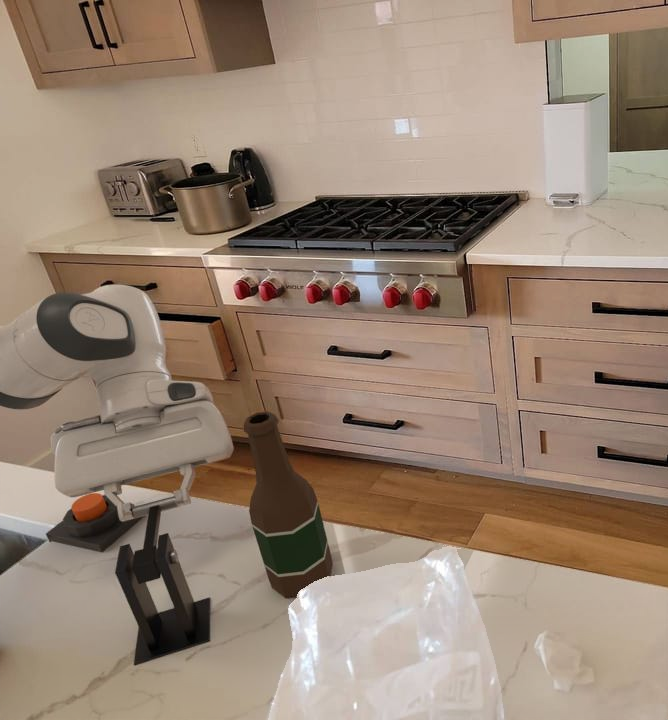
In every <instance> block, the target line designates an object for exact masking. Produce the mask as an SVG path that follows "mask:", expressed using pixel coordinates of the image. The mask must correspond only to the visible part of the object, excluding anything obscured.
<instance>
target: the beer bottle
mask: <svg viewBox="0 0 668 720" xmlns="http://www.w3.org/2000/svg"><path fill="white" fill-rule="evenodd" d="M279 422H280V420H279V419H278V417H277V416H276V414H275V413H272V412H271V411H268V410H267V411H260V412H256V413H253V414H251V415H249V416H247V417H246V418H245V421H244V423H243V432H244V433H246V434H247V437H248V443H249V446H250V453H251V457H252V460H253V461H252V462H253V465H254V466H253V467H254V472H255V483H256V484H255V485H254V489H253V491H252V494H251V497H250V500H249V507H248V508H249V510H248V512H249V517H250V518H249V519H250V523H251V527H252V530H253V534H254V536H255V539H256V543H257V546H258V549H259V552H260V557H261V558H262V562H263V565H264V568H265V572H266V576H267V578H268V581H269V584H270V587H271V589H273V590H274V591H275V592H277V593H278V594H279V595H280V596H281V597H283V598H284V599H285V600H286V599H292V598H297V597H296V596H297V594H298V592H299V591H300V590H301V589H303V588H305V587H306V586H308V585H309V584H311V583H313V582H314V581H317V580H319V579H322V578H324V577H327V576H330V577H331V575H332V570H333V564H334V563H333V558H332V557H333V556H332V554H331V553H332V552H331V549H330V544H329V540H328V537H327V533H326V530H325V525H324V521H323V517H322V513H321V509H320V505H319V502H318V498H317V495H316V492H315V489H314V488H313V486H312V485H311V483H309V481H308V480H307V479H306V478H304V477H303V476H302V475H300V474H299V473H298V472H295V469H294V468H293V466H292V464H291V462H290V459H289V456H288V454H287V451H286V448H285V445H284V442H283V439H282V436H281V433H280V431H279V427H278V424H279Z"/></svg>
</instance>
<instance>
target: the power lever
mask: <svg viewBox="0 0 668 720" xmlns="http://www.w3.org/2000/svg"><path fill="white" fill-rule="evenodd" d="M175 499H176V497H174V495H172V496H168V497H165V498H162V499H161V498H160V499H158V500H154V501H150V502H146V503H142V504H138V505H134V507H132V513H133V516H134V518H139V517H143V516H146V517H147V522H146V527H145V532H144V533H145V534H144V539H143V547H142V548H141V549H137V550H135V551H134V552H133V553H134V559H133V565H132V569H133V571H134V574H135V576H136V578H137V581H138V583H139V584H142V583H145V582H146V583H148V582H151V581H155V580H159V579H161V578H162V575H161V573H160V570H159V568H158V565H157V563H156V555H157V547H158V538H159V531H160V523H161V515H162V512H165V511H169V510H173V509H176V508H179V507H178V506H177V505H176V503H175ZM143 518H144V517H143Z"/></svg>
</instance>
